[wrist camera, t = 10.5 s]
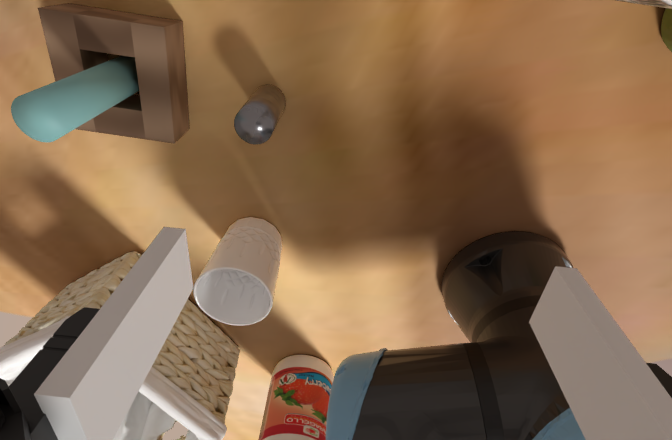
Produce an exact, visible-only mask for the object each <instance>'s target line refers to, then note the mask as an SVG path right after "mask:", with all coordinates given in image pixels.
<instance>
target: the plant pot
mask: <svg viewBox="0 0 672 440" xmlns="http://www.w3.org/2000/svg"><path fill="white" fill-rule="evenodd" d="M661 35H662V39H663V41H664V43H665V44H666V46H667V47H668V49H669V50H670V51H671V52H672V9H669V8H666V9H665V12H664V15H663V18H662V24H661Z"/></svg>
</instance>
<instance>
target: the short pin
mask: <svg viewBox="0 0 672 440" xmlns="http://www.w3.org/2000/svg"><path fill="white" fill-rule="evenodd" d="M285 105H286V100H285V97H284V94H283V93H282V91H281V90H280V89H279V88H277V87H275V86H273V85H263V86H260V87H259V88H258V89H257V90H256V91H255V92H254V93H253V95H252V96H251V97H250V98H249V100H248V101H247V102H246V103H245V105H244V106H243V107H242V108H241V110H240V111H239V112H238V113H237V115H236V117H235V120H234V126H235V130H236V132H237V134H238V135H239V137H240V138H241V139H242V140H244V141H245V142H247V143H250V144H262V143H264V142H266V141H267V140H268V139H269V138H270V136H271V135H272V133H273V131H274V129H275V127H276V125H277V123H278V121H279V119H280V117H281V115H282V113H283V111H284V109H285Z"/></svg>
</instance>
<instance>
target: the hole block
mask: <svg viewBox="0 0 672 440" xmlns="http://www.w3.org/2000/svg"><path fill="white" fill-rule="evenodd" d="M38 10H39V14H40V18H41V23H42V27H43V31H44V35H45V39H46V43H47V48H48V52H49V56H50V60H51V64H52V68H53V73H54V77H55V81H59V80H61V79H64V78H66V77H69V76H71V75H74V74H76V73H79V72H81V71H84V70H86V69H89V68H91V67H94V66H97V65H99V64H102V63H104V62H107V61H108V57H107V53H109V54H115V55H122V56H129V57H135V62H136V69H137V77H138V85H139V92H140V95H135V94H133V95H131V96H130V97H128V98H126V99H125V100H123V101H121V102H120V103H118V104H116V105H114V106H113V107H111V108H109V109H108V110H106V111H104V112H103V113H101V114H99V115H98V116H96V117H94V118H92V119H91V120H89V121H87V122H86V123H84V124H82V125H81V126H79V127H77V128H75V129H78V130H85V131H92V132H99V133H106V134H113V135H120V136H127V137H134V138H140V139H147V140H154V141H161V142H168V143H176V142H177V141H178V140H179V139H180V138H181V137H182V136H183V135H184V134H185V133H186V132H187V131H188V130H189V129H190V126H189V111H188V96H187V81H186V66H185V51H184V35H183V21H179V20H172V19H166V18H159V17H153V16H146V15H140V14H134V13H127V12H121V11H114V10H108V9H101V8H95V7H88V6H82V5H76V4H69V3H68V4H61V5H54V6H47V7H40V8H38Z"/></svg>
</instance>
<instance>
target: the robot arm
mask: <svg viewBox="0 0 672 440" xmlns="http://www.w3.org/2000/svg"><path fill="white" fill-rule="evenodd" d="M192 290H193V281H192V274H191V266H190V259H189V251H188V244H187V236H186V229H180V228H170V227H163V229H162V230H161V231H160V233H159V234H158V235H157V236H156V238H155V239H154V240H153V242H152V243H151V244H150V245H149V247H148V248H147V249H146V251H145V252H144V253H143V254H142V256H141V257H140V258H139V260H138V261H137V262H136V264H135V265H134V266H133V267H132V269H131V270H130V271H129V273H128V274H127V275H126V276H125V278H124V279H123V280H122V282H121V283H120V284H119V285H118V287H117V288H116V289H115V291H114V292H113V293H112V294H111V296H110V297H109V298H108V300H107V301H106V302H105V303H104V305H103V306H102V307H101V309H97V308H87V307H84V308H82V309H81V310H79V311H78V312H76V313H75V314H73V315H72V316H70V317H69V318H67V319H66V320H65V321H64V322H63V323H62V325H61V326H60V327H59V328H58V329H57V331H56V332H55V333H54V334H53V337H51V338H50V339H49V340H48V341H47V342H46V343H45V345H44V346H43V349H42V350H39V352H38V353H37V354H36V355H35V356H34V358H33V359H32V360H31V361H30V362H29V363H28V365H27V366H26V367H25V368H24V369H23V370H22V372H21V373H20V374H19V375H18V376H17V377H16V379H15V380H14V381H13V382H12V383H11V384H10V386H8V385H7V383H6V381H5V380H3V379H1V378H0V440H113V438H114V436H115V435H116V433H117V431H118V429H119V427H120V425H121V423H122V421H123V420H124V418H125V416H126V414H127V412H128V410H129V408H130V406H131V405H132V403H133V401H134V399H135V397H136V395H137V393H138V391H139V389H140V388H141V386H142V384H143V382H144V380H145V378H146V376H147V374H148V373H149V371H150V369H151V367H152V365H153V363H154V361H155V359H156V358H157V356H158V354H159V352H160V350H161V348H162V346H163V344H164V343H165V341H166V339H167V337H168V335H169V333H170V331H171V329H172V327H173V326H174V324H175V322H176V320H177V318H178V316H179V314H180V312H181V311H182V309H183V307H184V305H185V303H186V301H187V299H188V297H189V296H190V294H191V292H192ZM442 294H443V298H444V302H445V306H446V308H447V311H448V313H449V315H450V316H451V318H452V319H453V320H454V321H455V322H456V323H457V324H458V326H459V327H460V328H461V330H462V331H463V333H464V334H465V335H466V337H467V338H468V339H469V341H470V342H471V343H463V344H462V343H460V344H450V345H440V346H430V347H420V348H410V349H400V350H387V349H386V348H383V349H380V350H379V351H376V352H369V353H362V354H356V355H352V356H349V357H347V358H346V359H345V360H343V361H342V363H341V364H340V365H339V367H338V369H337V371H336V373H335V376H334V380H333V383H332V387H331V391H330V397H329V403H328V411H327V421H326V440H672V377H671V376H670V375H669V374H667V373H666V372H665V371H664V370H663V369H662V368H660V367H659V366H658V365H657V364H652V363H646V362H645V361H644V360H643V358H642V357H641V356H640V354H639V353H638V351H637V350H636V349H635V347H634V346H633V345H632V343H631V342H630V341H629V339H628V338H627V336H626V335H625V334H624V332H623V331H622V330H621V328H620V327H619V325H618V324H617V323H616V321H615V320H614V319H613V317H612V316H611V315H610V313H609V312H608V310H607V309H606V308H605V306H604V305H603V304H602V302H601V301H600V299H599V298H598V297H597V295H596V294H595V293H594V291H593V290H592V289H591V287H590V286H589V284H588V283H587V282H586V280H585V279H584V278H583V276H582V275H581V273H580V272H579V271H578V269H577V268H573V266H572V264H571V262H570V261H569V259H568V258H567V256H566V255H565V253H564V252H563V251H562V249H561V248H560V247H559V246H558V245H557V244H556V243H554V242H553V241H551V240H550V239H548V238H546V237H543V236H541V235H538V234H534V233H529V232H504V233H498V234H494V235H491V236H487V237H485V238H482V239H480V240H478V241H476V242H474V243H472V244H470V245H469V246H467V247H466V248H464V249H463V250H462V251H460V252H459V253H458V254H457V255H456V256H455V257H454V258H453V259H452V261H451V262H450V263H449V265H448V266H447V268H446V270H445V272H444V275H443V279H442Z"/></svg>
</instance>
